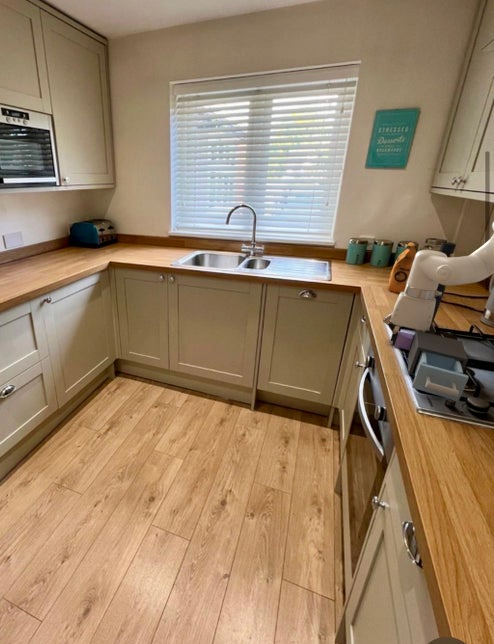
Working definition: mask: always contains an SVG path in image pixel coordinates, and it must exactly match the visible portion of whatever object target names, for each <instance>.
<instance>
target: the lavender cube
mask: <svg viewBox="0 0 494 644" xmlns="http://www.w3.org/2000/svg"><path fill="white" fill-rule="evenodd" d="M413 335H414V333H413V334H412V333H409V332H405V331H401V330H398V336H397V339H396V342H395V345H393V346H394V347H395V348H398V349H403V350H405V351H410V346H411V343H412V340H413Z"/></svg>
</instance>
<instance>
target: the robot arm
mask: <svg viewBox="0 0 494 644" xmlns="http://www.w3.org/2000/svg"><path fill="white" fill-rule="evenodd" d="M491 228H492V231H494V221H492V225H491ZM416 252H417V254H416V255H415V258H414V262H413V265H412V268H411V271H410V274H409V278H408V281H407V284H406V287H405V290H404V292H401V293H399V294H398V296H397V299H396V301H395V303H394V306H393V308H392V311H391V312H390V313H389V314H388V315H387V316H385V317H383V319H382V322H383V323H384V324H385V325H387V326H388V328H389V329H390V330H391V332H392V333H391V336H390V341H389V342H391V345H392V346H394V345H395V342H396V339H397V336H398V331H400V328H401V327H404V328H408V329H412V330H414V331H415V332H414V333H413V340H414V337H415V334H416V331H420V332H424V333H428V334H433V335H434V334H436V328H435V326H434V323H433V324H432V318H433V314H434V309H435V304H436V299H435V298H434V297H436V296H440V297H441V295H442V292H439V291H437V287H438V284H439V283H440V284H442V285H445V286H447V287H455V286H461V285H468V284H475V283H478V282H481V281H483V280H486V279H487V278H489V277H490V276H492V275H494V233H493V234H492V236H491V237H490V238H489V239H488V240H487V241H486V242H485V243H484V244H483V245H482V246H480V247H479V248H478V249H476V250H475V251H473V252H472V253H470V254H469V255H464V256H452V257H450V256H449V258H448V257H447V255H446V254H444V253H442V252H439V250H432V249H422V250H418V251H416ZM413 340H412V343H413ZM412 343H411V346H412ZM411 346H410V349H411ZM410 349H409V350H410Z"/></svg>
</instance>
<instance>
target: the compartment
mask: <svg viewBox="0 0 494 644" xmlns="http://www.w3.org/2000/svg"><path fill="white" fill-rule="evenodd" d="M414 334H415V333H414ZM421 351H424V352H428V353H432V354H436V355H440V356H444V357H448V358H452V359H456V360H460V364H461V367H462V371H463V372H464V370H465V368H466V365H467V363H468V361H469V359H468V355H467V352H466V349H465V346H464V343H463V340H459V339H455V338H450V337H446V336H441V335H438V334H434V333H433V334H428V333H424V332H420V331H416V334H415V337H414V340H413V343H412V346H411V349H409V352H408V355H407V372H408V373H407V374H408V375H409V376H414V377H415V367H416V364H417V361H418V359H419V356H420V353H421Z"/></svg>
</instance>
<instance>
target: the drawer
mask: <svg viewBox="0 0 494 644" xmlns="http://www.w3.org/2000/svg"><path fill="white" fill-rule="evenodd" d="M468 380H469V375H468V374H464V370H463V371H462V367H461V364H460V360H456V359H452V358H448V357H444V356H440V355H436V354H432V353H428V352H424V351H421V353H420V356H419V359H418V361H417V364H416V367H415V376H414V379H413V381H412V384H411V388H412V389H415V390H419V391H422V392H425V393H429V394H432V395H436V396H438V397H442V398H445V399H449V400H453V401H455V402H459V401H460V399H461V397H462V394H463V392H464V389H465V388H466V385H467V382H468Z"/></svg>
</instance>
